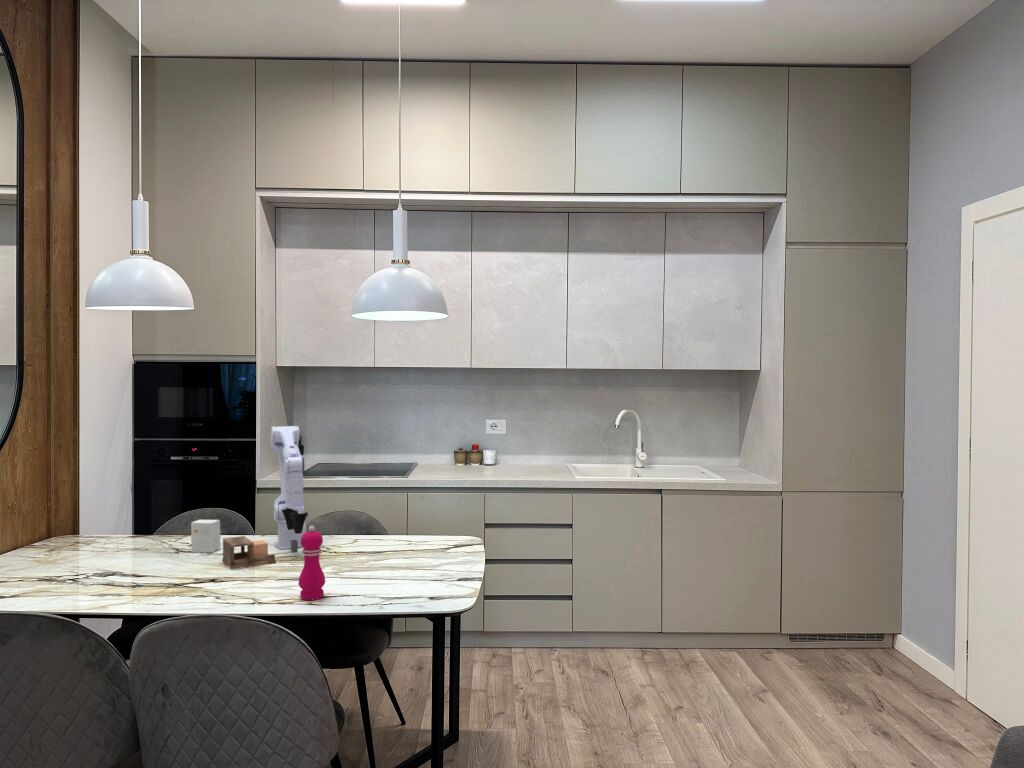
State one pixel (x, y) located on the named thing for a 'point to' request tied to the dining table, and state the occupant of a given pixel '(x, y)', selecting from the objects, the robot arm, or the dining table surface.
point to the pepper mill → (311, 566)
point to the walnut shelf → (242, 554)
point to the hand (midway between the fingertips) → (294, 531)
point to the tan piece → (262, 548)
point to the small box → (205, 535)
